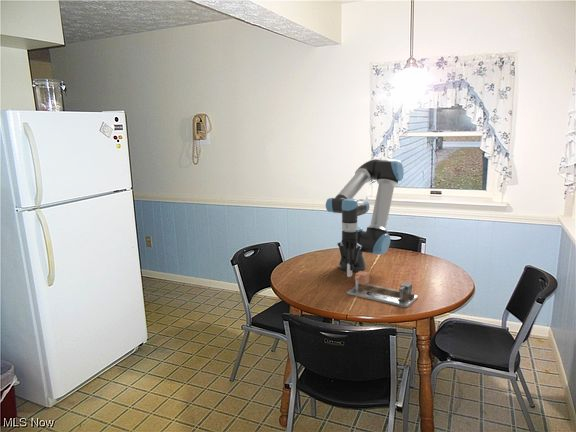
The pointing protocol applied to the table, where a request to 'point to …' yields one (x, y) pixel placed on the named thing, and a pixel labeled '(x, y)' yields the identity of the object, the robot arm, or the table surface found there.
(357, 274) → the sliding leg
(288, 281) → the table surface
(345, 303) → the table surface
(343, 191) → the robot arm
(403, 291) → the rail and fixed leg
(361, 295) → the bolt plate
